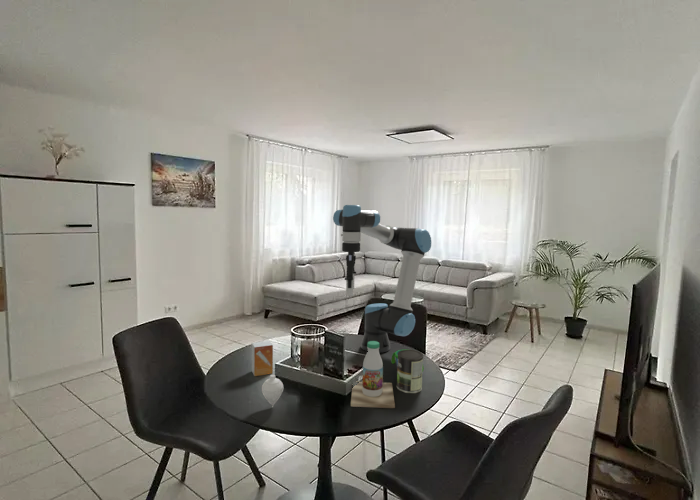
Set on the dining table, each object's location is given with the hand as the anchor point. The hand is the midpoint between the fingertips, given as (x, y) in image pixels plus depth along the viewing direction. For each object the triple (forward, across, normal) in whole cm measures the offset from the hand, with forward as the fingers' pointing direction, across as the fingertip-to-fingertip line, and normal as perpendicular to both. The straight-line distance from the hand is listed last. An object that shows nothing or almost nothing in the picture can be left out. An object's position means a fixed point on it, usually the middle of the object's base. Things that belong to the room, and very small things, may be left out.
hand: (350, 292), depth 162 cm
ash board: (+37, +17, +10) cm, 42 cm away
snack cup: (+37, -2, +25) cm, 45 cm away
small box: (+37, 0, -38) cm, 53 cm away
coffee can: (+37, +9, +25) cm, 45 cm away
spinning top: (+37, +29, -26) cm, 54 cm away
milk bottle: (+36, +17, +10) cm, 41 cm away
